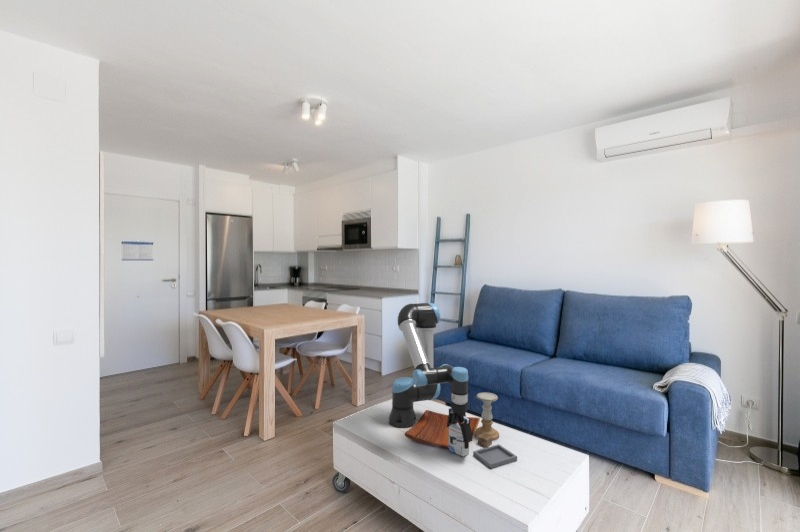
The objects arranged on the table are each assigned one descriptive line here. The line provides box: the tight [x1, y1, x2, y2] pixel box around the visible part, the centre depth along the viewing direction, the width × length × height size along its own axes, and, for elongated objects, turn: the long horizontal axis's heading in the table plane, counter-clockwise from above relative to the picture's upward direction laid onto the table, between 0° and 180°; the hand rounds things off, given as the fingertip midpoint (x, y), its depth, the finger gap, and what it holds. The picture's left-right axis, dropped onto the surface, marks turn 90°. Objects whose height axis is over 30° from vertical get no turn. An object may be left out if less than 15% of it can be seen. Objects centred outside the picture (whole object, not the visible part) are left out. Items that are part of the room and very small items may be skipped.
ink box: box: [448, 422, 470, 458], centre depth 172 cm, size 8×5×12 cm, turn 47°
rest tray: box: [472, 443, 518, 470], centre depth 168 cm, size 12×15×2 cm
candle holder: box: [474, 392, 500, 441], centre depth 190 cm, size 12×12×20 cm
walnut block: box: [477, 433, 493, 448], centre depth 180 cm, size 5×5×4 cm
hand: (458, 449), depth 173 cm, fingers closed on ink box, 9 cm apart
